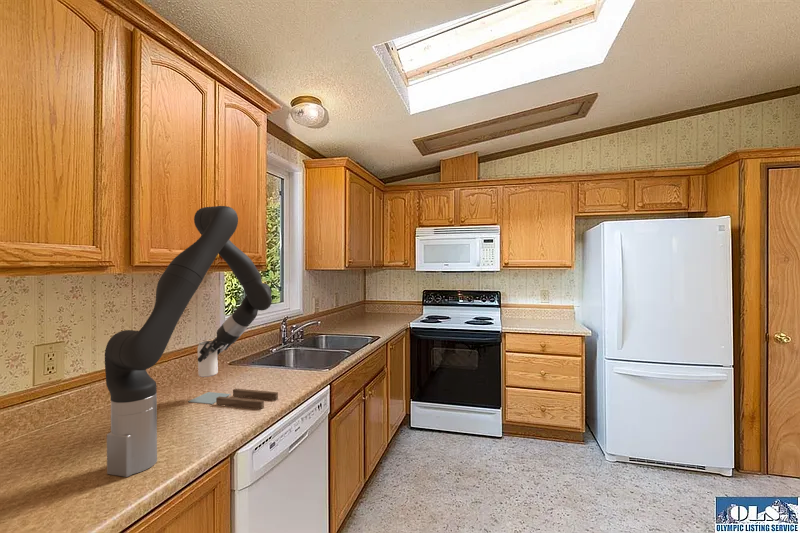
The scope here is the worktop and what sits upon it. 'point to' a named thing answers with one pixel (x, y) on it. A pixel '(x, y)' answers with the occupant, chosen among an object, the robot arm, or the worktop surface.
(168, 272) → the robot arm
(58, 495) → the worktop surface
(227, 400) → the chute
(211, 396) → the pad
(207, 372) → the can
